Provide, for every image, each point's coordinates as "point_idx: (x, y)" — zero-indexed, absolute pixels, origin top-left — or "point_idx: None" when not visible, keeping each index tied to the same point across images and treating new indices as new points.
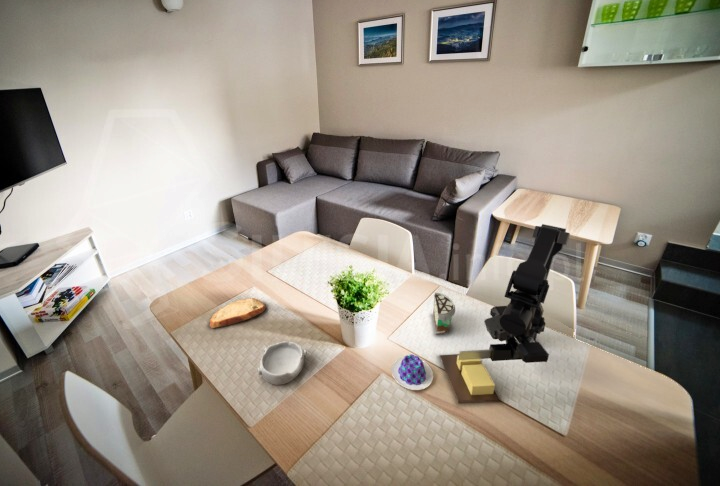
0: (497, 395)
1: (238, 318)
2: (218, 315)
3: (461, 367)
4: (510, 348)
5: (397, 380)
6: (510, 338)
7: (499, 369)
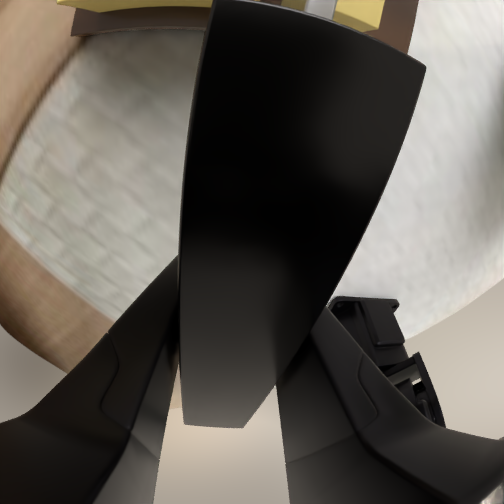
0: (85, 31)
1: None
2: None
3: None
4: (207, 331)
5: None
6: (318, 420)
7: None
